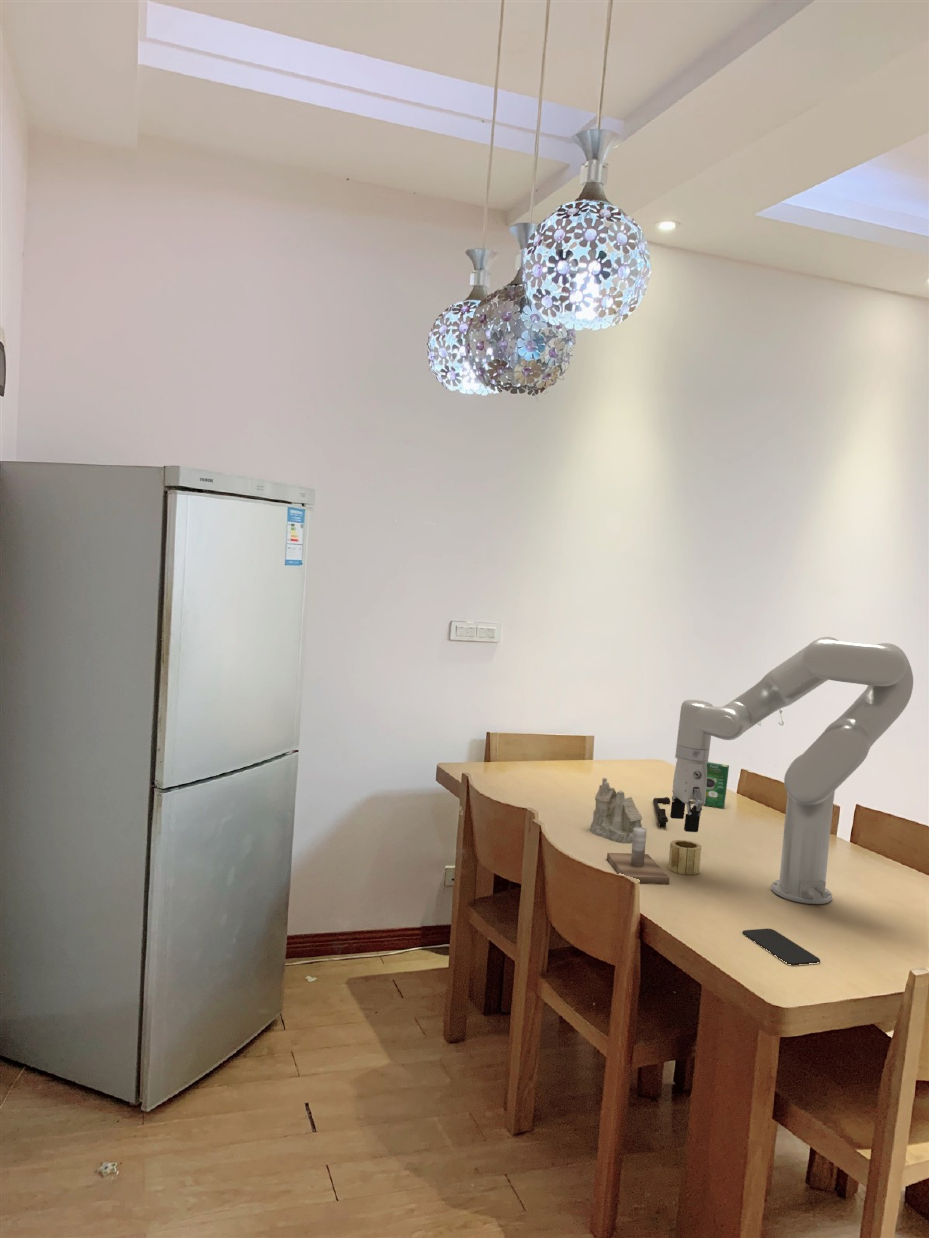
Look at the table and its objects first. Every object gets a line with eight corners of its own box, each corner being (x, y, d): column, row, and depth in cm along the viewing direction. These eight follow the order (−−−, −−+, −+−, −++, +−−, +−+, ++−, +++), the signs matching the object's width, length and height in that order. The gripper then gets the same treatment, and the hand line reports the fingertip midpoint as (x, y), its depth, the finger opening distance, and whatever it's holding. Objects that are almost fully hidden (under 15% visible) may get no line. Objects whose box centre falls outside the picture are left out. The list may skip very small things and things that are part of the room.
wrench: (669, 810, 272) (677, 831, 242) (652, 809, 272) (658, 830, 243) (670, 792, 272) (677, 811, 242) (653, 792, 273) (658, 810, 243)
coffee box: (726, 807, 271) (729, 764, 270) (724, 809, 269) (728, 766, 268) (698, 802, 274) (702, 760, 274) (697, 804, 272) (700, 762, 271)
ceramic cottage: (620, 844, 227) (626, 785, 227) (577, 829, 240) (583, 773, 240) (664, 841, 235) (669, 784, 236) (620, 826, 249) (625, 772, 249)
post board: (668, 884, 200) (672, 840, 200) (625, 882, 199) (628, 838, 199) (647, 860, 216) (650, 819, 216) (606, 858, 215) (610, 817, 215)
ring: (703, 875, 208) (705, 849, 208) (674, 874, 207) (676, 848, 207) (693, 864, 215) (695, 840, 214) (664, 863, 214) (666, 839, 214)
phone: (771, 927, 178) (823, 960, 164) (771, 931, 178) (823, 964, 164) (739, 930, 176) (789, 963, 161) (739, 934, 176) (788, 968, 161)
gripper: (721, 763, 201) (712, 837, 203) (694, 746, 218) (686, 814, 220) (689, 761, 200) (680, 835, 202) (664, 743, 218) (656, 812, 219)
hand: (683, 824), depth 211 cm, fingers open, 9 cm apart
